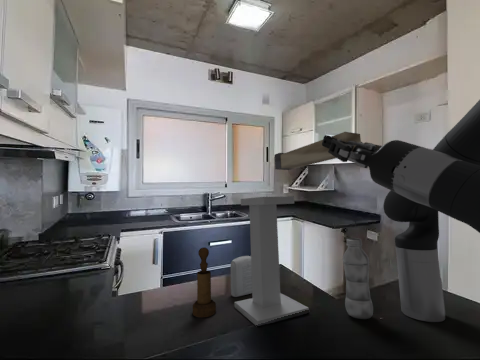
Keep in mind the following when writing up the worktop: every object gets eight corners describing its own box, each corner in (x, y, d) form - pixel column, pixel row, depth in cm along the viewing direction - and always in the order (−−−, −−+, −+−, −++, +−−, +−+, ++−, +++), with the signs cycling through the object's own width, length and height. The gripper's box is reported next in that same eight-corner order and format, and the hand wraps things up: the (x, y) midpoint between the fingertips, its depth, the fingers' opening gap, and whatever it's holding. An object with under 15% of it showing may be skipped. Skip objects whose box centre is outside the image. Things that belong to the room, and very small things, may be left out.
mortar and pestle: (205, 319, 65) (204, 250, 67) (187, 314, 69) (187, 248, 71) (220, 310, 71) (219, 246, 73) (203, 306, 74) (202, 245, 76)
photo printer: (253, 288, 89) (252, 253, 90) (260, 291, 86) (259, 255, 87) (229, 295, 83) (228, 257, 85) (235, 298, 80) (234, 259, 81)
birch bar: (288, 170, 67) (288, 155, 68) (362, 151, 47) (360, 131, 47) (275, 169, 65) (274, 154, 66) (345, 150, 45) (344, 128, 45)
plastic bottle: (351, 309, 69) (346, 236, 71) (377, 316, 64) (371, 238, 66) (341, 317, 65) (336, 239, 67) (369, 325, 60) (362, 241, 62)
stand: (279, 297, 80) (275, 198, 83) (309, 313, 67) (302, 196, 71) (234, 307, 73) (231, 199, 76) (258, 327, 60) (253, 196, 64)
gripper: (452, 151, 38) (362, 126, 52) (393, 143, 32) (310, 118, 46) (429, 195, 41) (350, 160, 55) (372, 195, 34) (299, 156, 49)
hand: (332, 141), depth 50 cm, fingers closed on birch bar, 4 cm apart
